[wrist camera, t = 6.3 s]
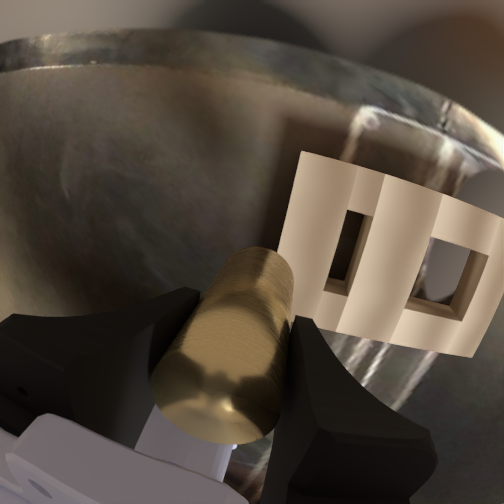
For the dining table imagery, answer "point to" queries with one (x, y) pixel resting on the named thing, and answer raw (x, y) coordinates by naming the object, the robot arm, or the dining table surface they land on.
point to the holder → (388, 257)
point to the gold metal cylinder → (231, 353)
